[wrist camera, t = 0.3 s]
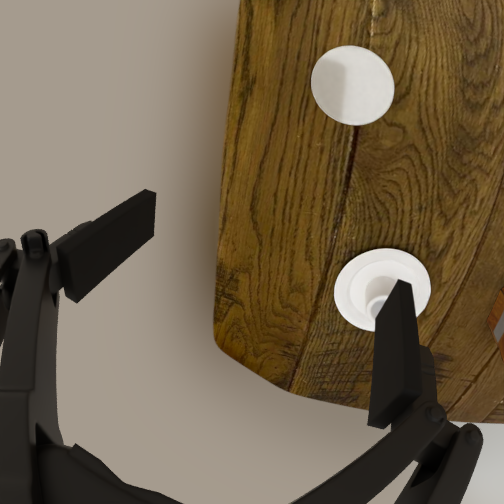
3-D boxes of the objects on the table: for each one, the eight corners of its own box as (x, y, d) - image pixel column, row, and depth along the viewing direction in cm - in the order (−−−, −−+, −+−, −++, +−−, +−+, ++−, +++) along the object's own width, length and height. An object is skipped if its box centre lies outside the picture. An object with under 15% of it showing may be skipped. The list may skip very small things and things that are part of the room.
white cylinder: (327, 56, 26) (318, 37, 17) (382, 71, 25) (401, 59, 16) (317, 108, 29) (303, 113, 20) (371, 122, 28) (384, 135, 19)
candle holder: (445, 294, 34) (452, 316, 30) (371, 341, 40) (371, 364, 37) (393, 225, 32) (398, 242, 29) (314, 284, 39) (310, 305, 35)
